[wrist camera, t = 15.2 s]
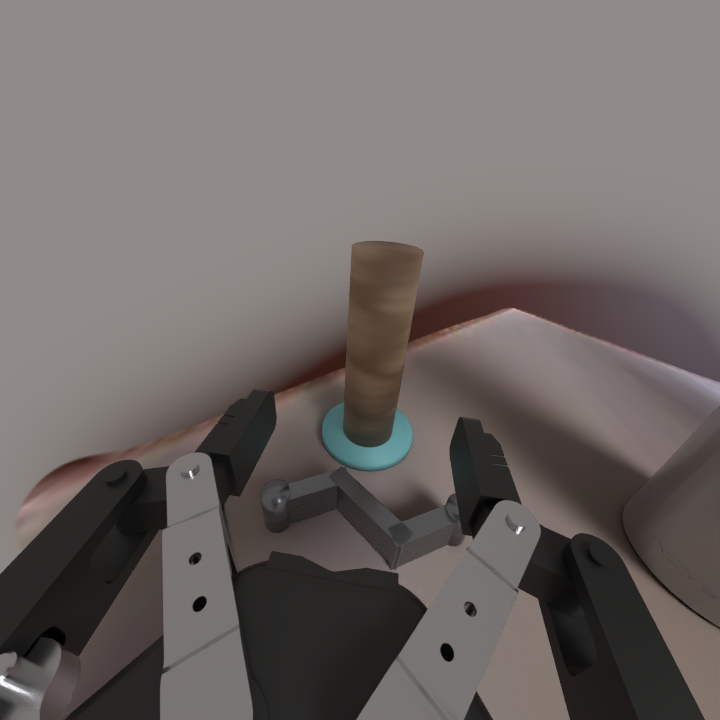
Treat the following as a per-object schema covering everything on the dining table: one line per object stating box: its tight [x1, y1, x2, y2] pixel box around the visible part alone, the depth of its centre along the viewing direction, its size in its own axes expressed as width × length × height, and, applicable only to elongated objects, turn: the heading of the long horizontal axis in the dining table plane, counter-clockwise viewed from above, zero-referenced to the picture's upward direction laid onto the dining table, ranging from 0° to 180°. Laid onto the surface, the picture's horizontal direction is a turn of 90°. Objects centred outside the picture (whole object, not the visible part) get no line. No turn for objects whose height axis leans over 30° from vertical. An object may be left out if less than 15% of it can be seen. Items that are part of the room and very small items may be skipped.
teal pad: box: [322, 402, 412, 471], centre depth 28 cm, size 8×8×1 cm
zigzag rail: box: [260, 467, 465, 570], centre depth 20 cm, size 14×5×3 cm, turn 88°
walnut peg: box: [343, 241, 424, 447], centre depth 23 cm, size 5×5×16 cm
